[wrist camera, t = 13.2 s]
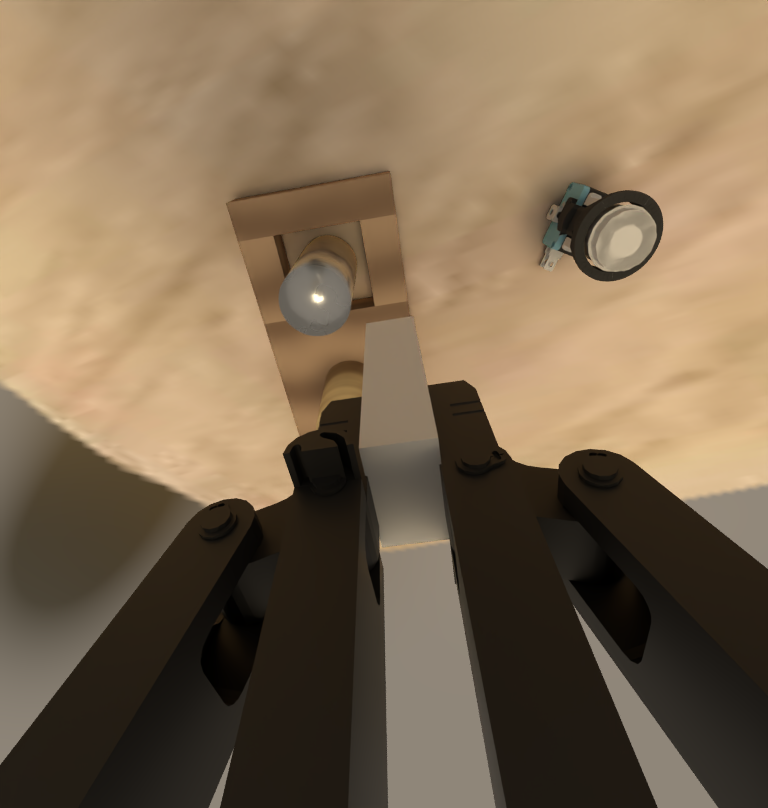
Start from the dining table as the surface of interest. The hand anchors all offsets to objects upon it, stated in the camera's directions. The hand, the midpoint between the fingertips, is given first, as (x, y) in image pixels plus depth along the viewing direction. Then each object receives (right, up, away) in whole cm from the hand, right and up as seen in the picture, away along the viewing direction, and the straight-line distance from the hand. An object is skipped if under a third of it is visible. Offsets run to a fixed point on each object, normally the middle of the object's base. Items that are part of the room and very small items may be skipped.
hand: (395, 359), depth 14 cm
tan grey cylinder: (-5, +10, +22) cm, 25 cm away
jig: (-4, +6, +25) cm, 26 cm away
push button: (+14, +13, +21) cm, 28 cm away
